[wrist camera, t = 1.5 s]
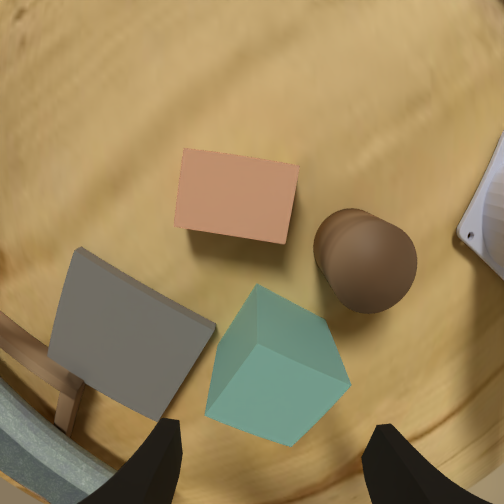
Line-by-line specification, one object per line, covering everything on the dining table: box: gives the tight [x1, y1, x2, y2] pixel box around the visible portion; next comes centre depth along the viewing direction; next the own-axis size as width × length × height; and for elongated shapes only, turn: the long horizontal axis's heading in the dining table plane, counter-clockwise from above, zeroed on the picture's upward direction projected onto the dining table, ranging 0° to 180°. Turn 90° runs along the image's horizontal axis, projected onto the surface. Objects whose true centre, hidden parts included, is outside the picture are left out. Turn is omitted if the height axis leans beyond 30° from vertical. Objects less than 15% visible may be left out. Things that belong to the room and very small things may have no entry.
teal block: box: [204, 284, 351, 447], centre depth 15 cm, size 4×4×6 cm
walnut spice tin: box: [313, 208, 417, 314], centre depth 15 cm, size 4×4×4 cm
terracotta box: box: [174, 148, 300, 244], centre depth 15 cm, size 5×4×2 cm
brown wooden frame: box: [0, 311, 86, 503], centre depth 21 cm, size 12×27×2 cm, turn 150°
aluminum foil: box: [0, 376, 117, 504], centre depth 15 cm, size 23×7×3 cm
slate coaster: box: [47, 247, 216, 422], centre depth 18 cm, size 9×9×1 cm
